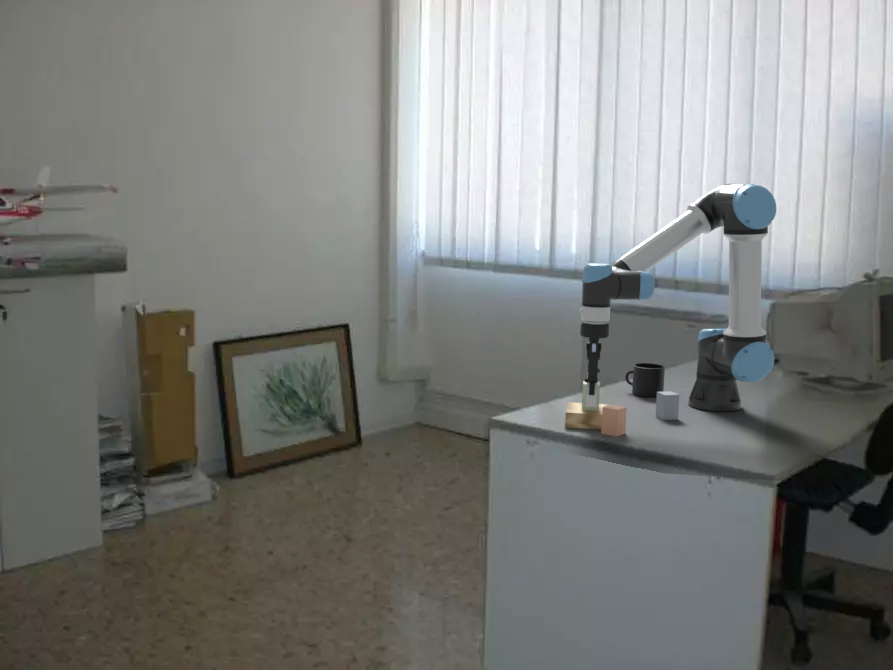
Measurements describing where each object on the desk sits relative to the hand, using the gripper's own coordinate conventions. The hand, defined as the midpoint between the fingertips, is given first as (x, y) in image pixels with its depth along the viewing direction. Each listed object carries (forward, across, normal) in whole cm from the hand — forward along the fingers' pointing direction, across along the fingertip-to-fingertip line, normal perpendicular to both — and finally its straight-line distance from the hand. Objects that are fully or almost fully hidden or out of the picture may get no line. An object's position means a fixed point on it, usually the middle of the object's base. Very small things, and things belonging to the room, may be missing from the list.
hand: (591, 401), depth 275 cm
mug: (+6, -43, +16) cm, 46 cm away
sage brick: (+2, 0, 0) cm, 2 cm away
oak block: (+6, 0, 0) cm, 6 cm away
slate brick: (+6, -12, +21) cm, 25 cm away
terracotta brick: (+6, +10, +6) cm, 13 cm away
